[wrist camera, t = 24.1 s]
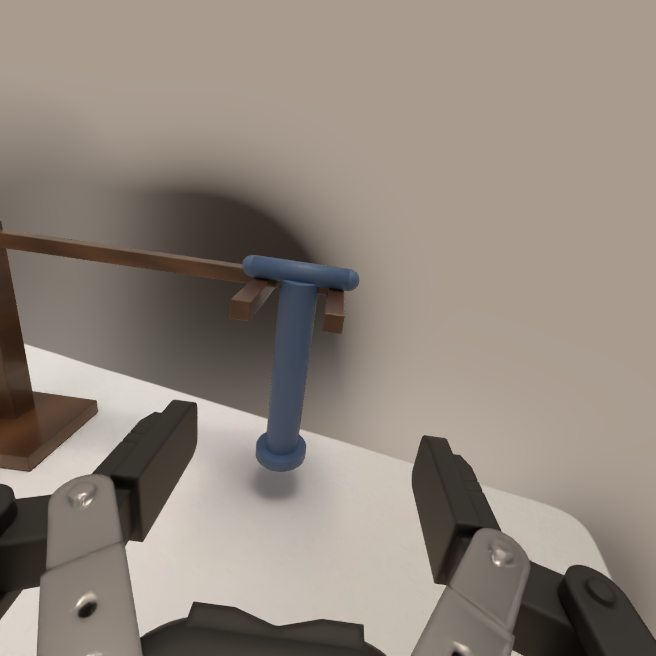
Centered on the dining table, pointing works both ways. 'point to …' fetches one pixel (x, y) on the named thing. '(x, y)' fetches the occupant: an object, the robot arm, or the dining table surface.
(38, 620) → the robot arm
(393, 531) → the dining table surface
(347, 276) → the peg
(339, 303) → the stand
